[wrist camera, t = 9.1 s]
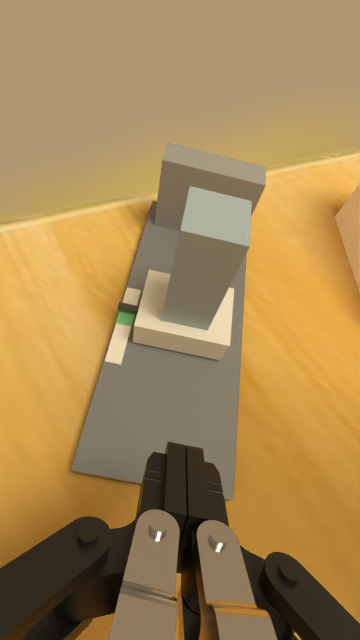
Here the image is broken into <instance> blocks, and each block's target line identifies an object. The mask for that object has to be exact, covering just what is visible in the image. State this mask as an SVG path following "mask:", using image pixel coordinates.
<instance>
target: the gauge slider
mask: <svg viewBox="0 0 360 640" xmlns="http://www.w3.org/2000/svg"><path fill="white" fill-rule="evenodd" d="M251 207H252V201H249V200H245V199H241V198H237V197H233V196H229V195H225V194H221V193H217V192H213V191H208V190H204V189H200V188H196V187H192V186H190V188H189V192H188V197H187V202H186V206H185V211H184V215H183V220H182V225H181V229H180V234H179V238H178V243H177V247H176V252H175V257H174V261H173V266H172V270H171V274H167V273H163V272H158V271H154V270H149V271H148V275H147V279H146V283H145V286H144V290H143V294H142V298H141V301H140V305H139V306H136V305H131V304H127V303H122V302H120V303H119V306H118V310H121V311H125V312H130V313H135V314H137V316H136V320H135V324H134V333H133V342H135V343H140V344H144V345H149V346H154V347H159V348H163V349H168V350H173V351H177V352H182V353H187V354H192V355H196V356H201V357H206V358H211V359H215V360H221V358H222V357H223V356H224V354H225V353H226V351H227V350H228V348H229V347H230V339H231V326H232V312H233V299H234V289H233V288H229V287H230V285H231V283H232V281H233V279H234V277H235V275H236V273H237V271H238V269H239V267H240V265H241V263H242V261H243V259H244V257H245V255H246V253H247V251H248V249H249V247H250V228H251Z"/></svg>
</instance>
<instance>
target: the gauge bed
mask: <svg viewBox="0 0 360 640" xmlns="http://www.w3.org/2000/svg"><path fill="white" fill-rule="evenodd" d="M265 179H266V167H264V166H260V165H255V164H251V163H248V162H243V161H240V160H236V159H232V158H228V157H224V156H220V155H216V154H212V153H208V152H204V151H200V150H196V149H192V148H188V147H184V146H180V145H176V144H172V143H168V144H167V147H166V150H165V153H164V156H163V160H162V168H161V176H160V185H159V192H158V200H157V202H156V201H152V205H151V208H150V211H149V215H148V218H147V221H146V224H145V228H144V231H143V234H142V238H141V241H140V244H139V247H138V251H137V254H136V257H135V260H134V264H133V267H132V270H131V274H130V277H129V280H128V283H127V287H126V290H125V293H124V297H123V300H122V303H127V304H131V305H136V306H139V305H140V301H141V298H142V294H143V290H144V286H145V283H146V279H147V275H148V271H149V270H154V271H158V272H163V273H167V274H171V270H172V266H173V261H174V257H175V252H176V247H177V243H178V238H179V234H180V229H181V225H182V220H183V215H184V211H185V206H186V202H187V197H188V192H189V188H190V186H192V187H196V188H200V189H204V190H208V191H213V192H217V193H221V194H225V195H229V196H233V197H237V198H241V199H245V200H249V201H252V207H251V216H252V214H253V212H254V209H255V207H256V205H257V203H258V201H259V198H260V196H261V194H262V192H263V190H264V187H265ZM245 270H246V255H245V257H244V259H243V261H242V263H241V265H240V267H239V269H238V271H237V273H236V275H235V277H234V279H233V281H232V283H231V285H230V287H229V288H233V289H234V299H233V312H232V326H231V339H230V347H229V348H228V350H227V351H226V353H225V354H224V356H223V357H222V358H221V360H215V359H211V358H206V357H201V356H196V355H192V354H187V353H182V352H177V351H173V350H168V349H163V348H159V347H154V346H149V345H144V344H140V343H135V342H133V333H134V324H135V320H136V316H137V314H135V313H130V312H125V311H121V310H119V313H118V316H117V320H116V323H115V326H114V329H113V333H112V336H111V339H110V342H109V346H108V349H107V352H106V356H105V359H104V362H103V365H102V369H101V372H100V375H99V379H98V382H97V385H96V388H95V392H94V395H93V398H92V401H91V405H90V408H89V411H88V415H87V418H86V421H85V424H84V428H83V431H82V434H81V438H80V441H79V444H78V447H77V451H76V454H75V457H74V460H73V464H72V467H71V471H72V472H75V473H80V474H86V475H91V476H97V477H102V478H108V479H113V480H119V481H124V482H130V483H135V484H142V480H143V476H144V471H145V467H146V463H147V459H148V458H149V457H150V455H151V454H152V453H153V452H158V453H163V454H164V453H165V449H166V445H167V442H168V441H169V442H174V443H179V444H184V445H189V446H194V447H199V448H203V452H204V461H205V462H209V463H213V464H214V465H215V467H216V468H217V470H218V471H219V473H220V478H221V483H222V484H221V486H222V489H223V495H224V500H233V496H234V477H235V458H236V439H237V420H238V401H239V383H240V364H241V345H242V326H243V307H244V288H245Z"/></svg>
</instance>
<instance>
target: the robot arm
mask: <svg viewBox="0 0 360 640" xmlns="http://www.w3.org/2000/svg"><path fill="white" fill-rule="evenodd" d="M221 484H222V483H221V478H220V473H219V471H218V470H217V468H216V467H215V465H214V464H213V463H209V462H205V461H204V452H203V448H199V447H194V446H189V445H184V444H179V443H174V442H169V441H168V442H167V445H166V449H165V453H164V454H163V453H158V452H153V453H152V454H151V455H150V457H149V458H148V459H147V463H146V467H145V471H144V476H143V480H142V484H141V488H140V494H139V501H138V506H137V513H136V519H135V520H134V521H133V522H132V523H131V524H129V525H127V526H125V527H122V528H116V529H110V528H109V526H108V525H107V524H106V523H105V522H104V521H103V520H101V519H99V518H96V517H82V518H79V519H76V520H75V521H73V522H71V523H70V524H68V525H67V526H65V527H64V528H62V529H61V530H59V531H57V532H56V533H54V534H53V535H51V536H50V537H48V538H47V539H45V540H44V541H42V542H40V543H39V544H37V545H36V546H34V547H33V548H31V549H30V550H28V551H27V552H25V553H23V554H22V555H20V556H19V557H17V558H16V559H14V560H13V561H11V562H10V563H8V564H6V565H5V566H3V567H2V568H0V640H74V639H75V638H76V637H77V636H78V635H79V634H80V633H81V632H82V631H83V630H84V629H85V628H86V627H87V626H88V625H89V624H90V623H91V621H92V620H93V618H96V617H100V616H104V615H108V614H113V613H115V614H114V618H113V622H112V626H111V630H110V634H109V638H108V640H175V629H176V616H177V598H174V594H175V581H176V573H181V586H180V590H179V593H178V619H179V636H180V640H298V639H297V638H296V637H295V635H294V632H296V633H297V634H298V635H299V637H300V638H301V639H302V640H360V624H359V623H358V622H357V621H356V620H355V619H354V618H353V617H352V616H351V615H350V614H349V613H348V612H347V611H346V610H345V609H344V608H343V607H342V606H341V605H340V604H339V603H338V602H337V600H336V599H335V598H334V597H333V596H332V595H331V594H330V593H329V592H328V591H327V590H326V589H325V588H324V587H323V586H322V585H321V584H320V583H319V582H318V581H317V580H316V579H315V578H314V577H313V576H312V575H311V574H310V573H309V572H308V571H307V570H306V569H305V568H304V567H303V566H302V565H301V564H300V563H299V562H298V561H297V560H295V559H294V558H292V557H291V556H289V555H287V554H284V553H281V552H274V553H271V554H269V555H268V556H267V558H266V560H264V559H262V558H260V557H258V556H256V555H254V554H252V553H250V552H249V551H247V550H245V549H244V548H243V547H242V546H240V545H239V541H238V539H237V536H236V535H235V533H234V532H233V531H232V530H231V528H229V524H228V518H227V512H226V507H225V501H224V495H223V489H222V486H221Z"/></svg>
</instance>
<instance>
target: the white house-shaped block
mask: <svg viewBox="0 0 360 640" xmlns="http://www.w3.org/2000/svg"><path fill="white" fill-rule="evenodd" d="M335 220H336V223H337V226H338V229H339V232H340V235H341V238H342V241H343V244H344V247H345V250H346V253H347V256H348V259H349V262H350V265H351V268H352V271H353V275H354V278H355V281H356V284H357V287H358V290H359V293H360V184H359V185H358V186H357V188H356V189H355V190H354V192H353V193H352V194H351V196H350V197H349V198H348V200H347V201H346V202H345V204H344V205H343V206H342V208H341V209H340V210H339V212H338V213H337V215H336V216H335Z"/></svg>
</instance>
